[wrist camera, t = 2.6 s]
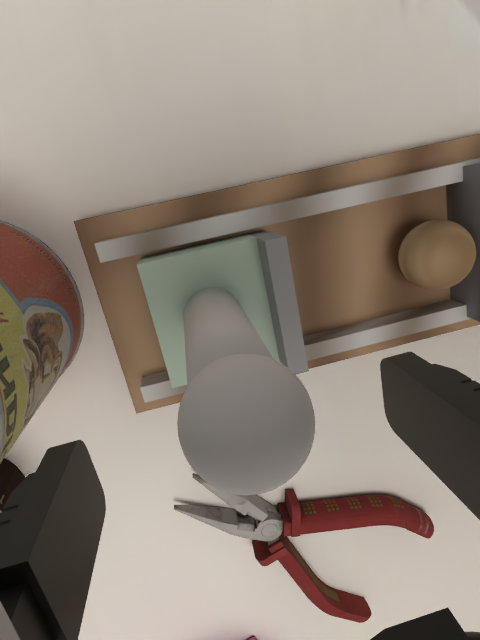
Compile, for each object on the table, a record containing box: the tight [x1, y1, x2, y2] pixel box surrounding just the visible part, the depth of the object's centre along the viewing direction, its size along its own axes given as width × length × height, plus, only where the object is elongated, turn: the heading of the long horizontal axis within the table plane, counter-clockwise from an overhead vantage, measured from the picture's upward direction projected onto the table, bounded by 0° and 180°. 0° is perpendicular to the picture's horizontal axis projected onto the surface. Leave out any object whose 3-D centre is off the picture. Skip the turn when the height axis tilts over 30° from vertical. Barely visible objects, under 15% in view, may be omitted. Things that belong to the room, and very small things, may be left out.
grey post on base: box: [137, 230, 315, 495], centre depth 16 cm, size 7×7×15 cm
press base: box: [74, 134, 480, 413], centre depth 22 cm, size 26×12×8 cm, turn 102°
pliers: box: [174, 473, 434, 623], centre depth 30 cm, size 11×20×3 cm, turn 60°
